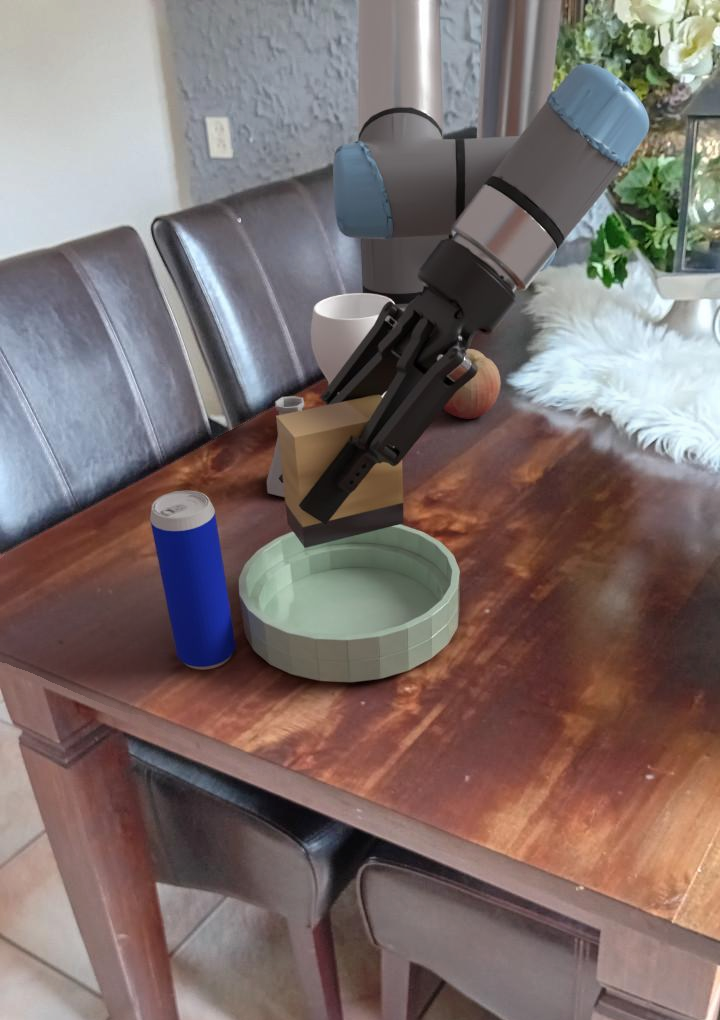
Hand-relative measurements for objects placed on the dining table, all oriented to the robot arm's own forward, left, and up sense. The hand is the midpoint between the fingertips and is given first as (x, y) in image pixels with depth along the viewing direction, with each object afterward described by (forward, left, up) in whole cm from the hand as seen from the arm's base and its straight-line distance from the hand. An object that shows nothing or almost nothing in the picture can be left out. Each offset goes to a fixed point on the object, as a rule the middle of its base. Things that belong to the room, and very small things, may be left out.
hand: (301, 500), depth 83 cm
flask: (-27, -7, -13) cm, 31 cm away
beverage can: (+5, -9, -13) cm, 16 cm away
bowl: (-1, +3, -13) cm, 13 cm away
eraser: (-2, +3, -3) cm, 5 cm away
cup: (-43, -2, -13) cm, 45 cm away
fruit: (-47, +11, -13) cm, 50 cm away
